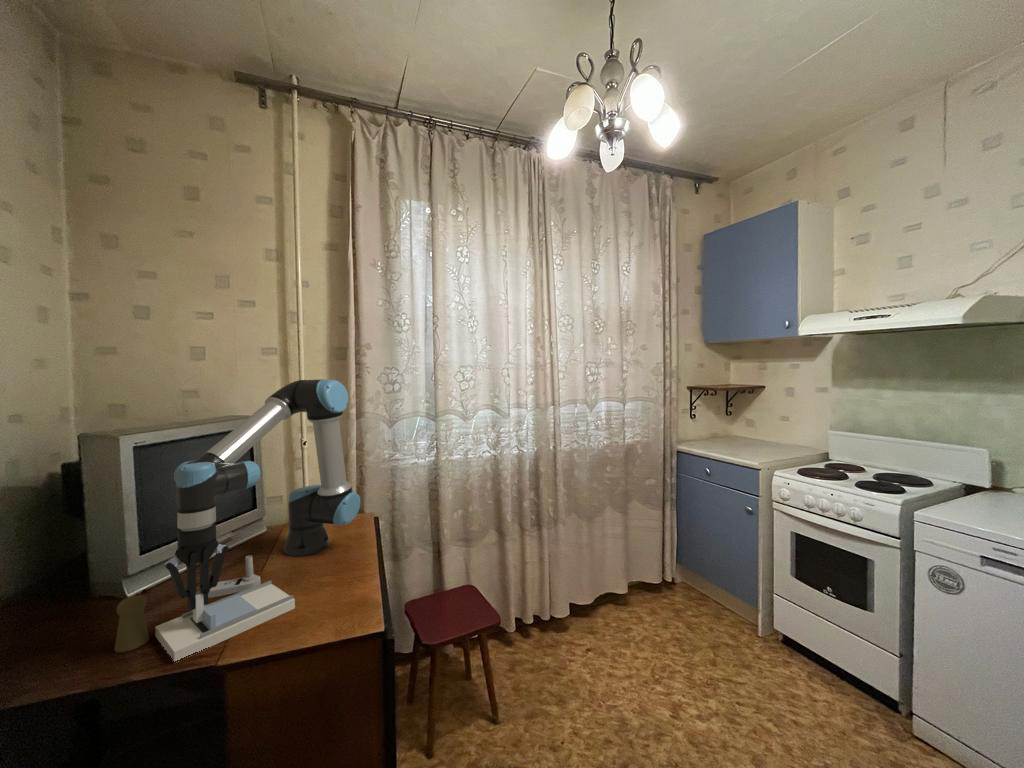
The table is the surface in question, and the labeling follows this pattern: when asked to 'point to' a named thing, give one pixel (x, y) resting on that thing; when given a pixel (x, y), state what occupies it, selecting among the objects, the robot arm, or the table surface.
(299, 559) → the table surface
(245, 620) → the socket plate
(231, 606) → the panel
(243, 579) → the electronic device
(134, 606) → the cork
